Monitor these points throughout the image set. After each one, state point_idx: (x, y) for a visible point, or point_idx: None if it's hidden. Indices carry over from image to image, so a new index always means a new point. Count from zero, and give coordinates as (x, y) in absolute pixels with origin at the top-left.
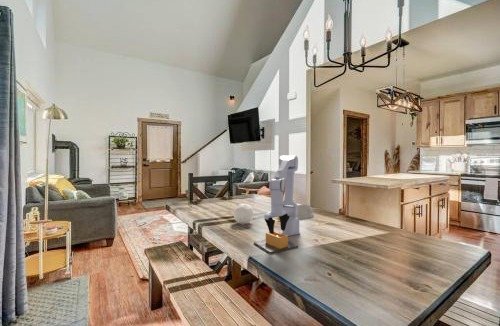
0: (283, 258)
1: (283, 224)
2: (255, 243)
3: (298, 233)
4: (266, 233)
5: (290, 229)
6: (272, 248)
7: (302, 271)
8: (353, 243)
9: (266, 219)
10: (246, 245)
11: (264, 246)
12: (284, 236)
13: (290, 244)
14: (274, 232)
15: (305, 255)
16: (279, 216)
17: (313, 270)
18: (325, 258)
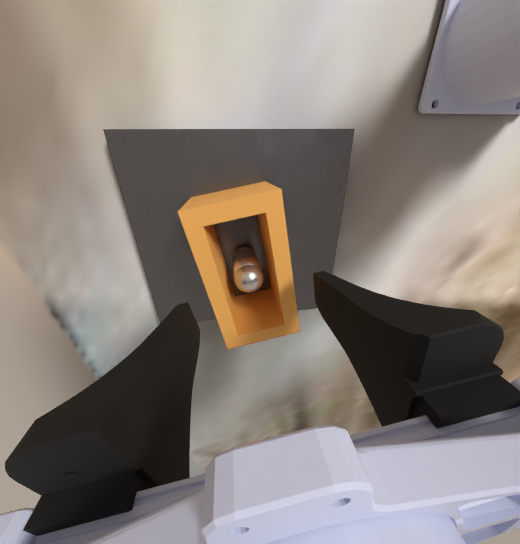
0: (202, 361)
1: (341, 329)
2: (114, 158)
3: (512, 113)
4: (182, 222)
5: (503, 91)
6: (192, 293)
7: (211, 428)
8: (505, 333)
9: (51, 482)
10: (37, 132)
11: (159, 251)
12: (272, 335)
13: (308, 281)
14: (266, 223)
15: (291, 362)
16: (402, 340)
17: (242, 429)
18: (326, 390)
